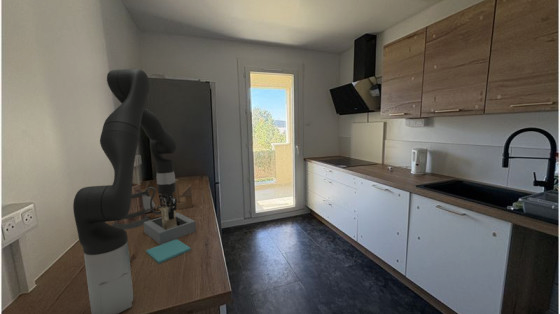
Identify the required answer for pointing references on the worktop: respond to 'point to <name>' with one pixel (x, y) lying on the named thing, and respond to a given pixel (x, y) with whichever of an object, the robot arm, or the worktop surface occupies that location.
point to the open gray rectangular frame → (162, 235)
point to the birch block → (165, 219)
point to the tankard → (136, 209)
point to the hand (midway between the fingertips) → (169, 217)
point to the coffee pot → (147, 201)
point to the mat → (168, 250)
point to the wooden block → (186, 194)
